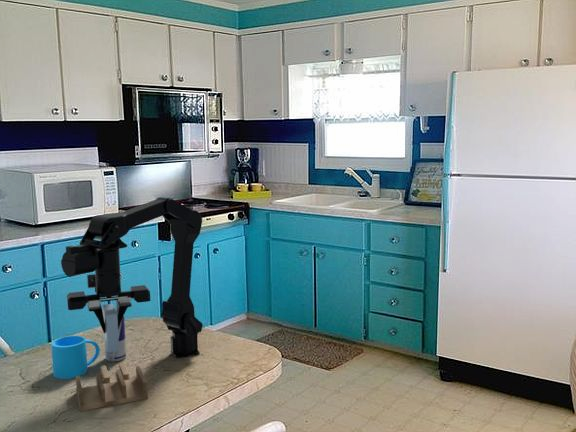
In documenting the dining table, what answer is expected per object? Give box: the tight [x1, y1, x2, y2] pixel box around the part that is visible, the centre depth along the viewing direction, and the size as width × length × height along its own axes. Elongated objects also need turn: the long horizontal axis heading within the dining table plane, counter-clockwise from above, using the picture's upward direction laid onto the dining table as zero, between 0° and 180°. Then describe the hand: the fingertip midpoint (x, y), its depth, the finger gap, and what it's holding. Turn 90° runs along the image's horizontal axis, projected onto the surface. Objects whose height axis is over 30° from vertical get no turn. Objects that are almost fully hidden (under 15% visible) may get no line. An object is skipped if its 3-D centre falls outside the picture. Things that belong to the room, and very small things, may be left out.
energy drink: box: [104, 315, 127, 363], centre depth 159 cm, size 5×5×12 cm
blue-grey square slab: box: [101, 303, 119, 352], centre depth 143 cm, size 2×9×9 cm, turn 23°
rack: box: [75, 365, 149, 412], centre depth 137 cm, size 15×10×4 cm
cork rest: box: [100, 361, 130, 384], centre depth 147 cm, size 6×8×2 cm
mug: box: [50, 335, 101, 380], centre depth 151 cm, size 12×8×8 cm
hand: (110, 331), depth 143 cm, fingers closed on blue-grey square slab, 2 cm apart
